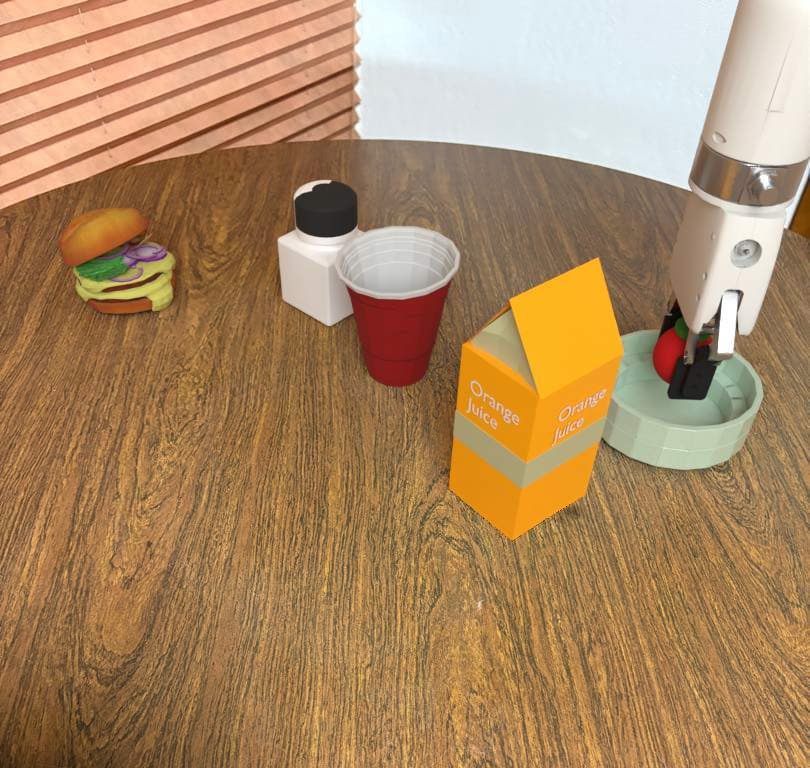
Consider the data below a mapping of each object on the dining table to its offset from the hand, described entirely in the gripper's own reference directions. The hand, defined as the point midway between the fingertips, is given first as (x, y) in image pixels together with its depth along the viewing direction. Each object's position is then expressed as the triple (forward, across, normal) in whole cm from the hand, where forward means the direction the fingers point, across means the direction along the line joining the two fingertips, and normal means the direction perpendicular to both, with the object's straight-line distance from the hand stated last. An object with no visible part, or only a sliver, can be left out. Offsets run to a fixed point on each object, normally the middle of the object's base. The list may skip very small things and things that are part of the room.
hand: (679, 374), depth 74 cm
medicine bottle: (+6, +18, +32) cm, 37 cm away
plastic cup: (+6, +6, +25) cm, 26 cm away
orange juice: (+6, -10, +14) cm, 18 cm away
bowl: (+5, 0, 0) cm, 5 cm away
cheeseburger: (+6, +18, +53) cm, 56 cm away
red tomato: (+1, 0, 0) cm, 1 cm away
